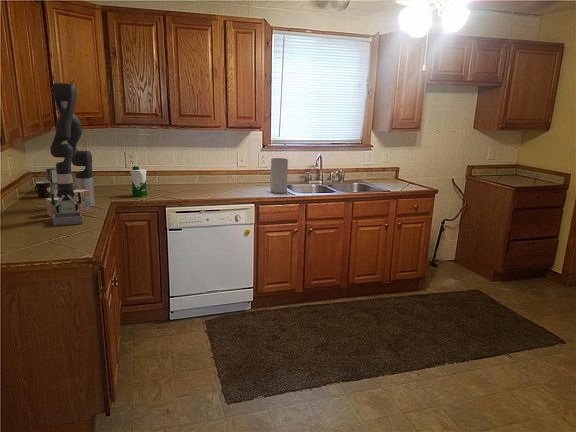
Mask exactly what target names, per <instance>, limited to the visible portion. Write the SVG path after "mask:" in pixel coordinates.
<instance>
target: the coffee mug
mask: <svg viewBox="0 0 576 432" xmlns="http://www.w3.org/2000/svg"><path fill="white" fill-rule="evenodd" d="M50 183H51V182H50V181H47V180H43V181H42V180H40V181H36V182H35V186H34V191H35V192H36V193H37V195H38V198H39V199H48V198H49V197H50V198H51V192H50Z"/></svg>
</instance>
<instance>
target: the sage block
mask: <svg viewBox="0 0 576 432" xmlns="http://www.w3.org/2000/svg"><path fill="white" fill-rule="evenodd" d="M62 210H63V213H71V212H72V203H71V200H62Z"/></svg>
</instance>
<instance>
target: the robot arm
mask: <svg viewBox="0 0 576 432" xmlns="http://www.w3.org/2000/svg"><path fill="white" fill-rule="evenodd" d="M51 92H52V96H53V100H54V102H55V105H56V107H57V109H58V112H59V117H58V118H57V121H56V124H55V135H54V137H53V140H52V143H51V146H50V150H49V151H50V154H51V156H52V157H54V158H61V159H62V158H63V161H59V162H57V163H55V168H56V173H57V177H56V179H57V189H58V193H50V198H51V203H52V205H55V206H56V211H58V213H59V205H58V204H59V203H60V202H61V201H62V200H72V201H73V202H74V203H75V210H76V211H77V210H78V204H79V203H81V196H80V192H76V193H74V191H73V190H74V181H73V175H72V174H73V173H72V165H73V166H74V167H84V169H83V170H81V171H80V170H79V171H78V172H75V184H76V186H75V187H76V190H81V189H85V190H88V191H89V196H90V207H94V206H95V191H94V189H95V188H94V179H93V178H94V177H93V155H92V152H91V151H90V150H78V149H77V145H78V142H79V141H80V139H81V138H82V135H83V127H82V123H81V121H80V119H79V117H78V116H77V115H76V114H75V113H74V112H75V110H76V109H75V108H76V104H77V98H78V90H77V86H76V85H75V84H74V83H67V82H54V83H52V85H51ZM66 102H67V103H66ZM65 141H66V142H67V143H64V142H65ZM74 195H76V196H78V199H79V201H76V200H75V199H74V198H73V197H74ZM56 196H57V197H59V199H58V201H57V202H54V198H56Z"/></svg>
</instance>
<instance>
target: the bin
mask: <svg viewBox="0 0 576 432" xmlns="http://www.w3.org/2000/svg"><path fill="white" fill-rule="evenodd" d="M82 213H83V212H71V213H56V214H53V217H51V218H52V220H51V221H52V226H53V227H57V226H58V227H59V226H71V225H73V226H75V225H83V215H82Z"/></svg>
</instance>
